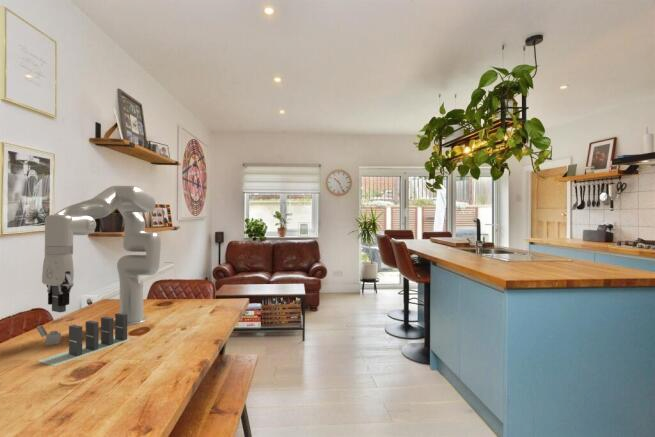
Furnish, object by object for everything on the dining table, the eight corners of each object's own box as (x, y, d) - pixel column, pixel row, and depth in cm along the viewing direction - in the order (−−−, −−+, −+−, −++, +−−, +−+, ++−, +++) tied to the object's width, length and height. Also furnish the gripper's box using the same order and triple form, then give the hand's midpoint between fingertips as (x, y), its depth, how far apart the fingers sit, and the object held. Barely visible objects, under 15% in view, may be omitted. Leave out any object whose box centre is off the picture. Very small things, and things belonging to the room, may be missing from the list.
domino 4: (109, 345, 125) (109, 319, 125) (100, 343, 127) (100, 317, 127) (113, 344, 127) (113, 318, 127) (105, 342, 129) (105, 316, 129)
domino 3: (93, 350, 120) (93, 323, 120) (85, 348, 122) (85, 321, 122) (98, 349, 122) (98, 322, 122) (90, 347, 124) (90, 320, 124)
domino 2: (77, 356, 115) (77, 327, 115) (68, 354, 117) (68, 326, 117) (82, 354, 117) (82, 326, 117) (73, 352, 119) (74, 324, 119)
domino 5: (123, 340, 130) (123, 315, 130) (114, 338, 132) (115, 313, 132) (127, 339, 132) (127, 314, 132) (119, 337, 134) (119, 312, 134)
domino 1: (60, 312, 111) (60, 282, 111) (51, 310, 113) (51, 281, 113) (65, 311, 112) (66, 281, 112) (57, 309, 114) (57, 280, 114)
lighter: (60, 343, 129) (60, 322, 129) (59, 344, 127) (59, 324, 127) (37, 346, 126) (37, 325, 126) (35, 347, 124) (36, 326, 124)
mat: (37, 362, 112) (37, 360, 112) (116, 336, 136) (116, 335, 136) (54, 367, 108) (54, 366, 108) (132, 340, 132) (132, 338, 132)
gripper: (31, 251, 113) (31, 304, 112) (61, 253, 106) (60, 310, 105) (57, 249, 119) (56, 299, 119) (86, 251, 112) (85, 304, 112)
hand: (58, 304), depth 112 cm, fingers closed on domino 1, 4 cm apart
